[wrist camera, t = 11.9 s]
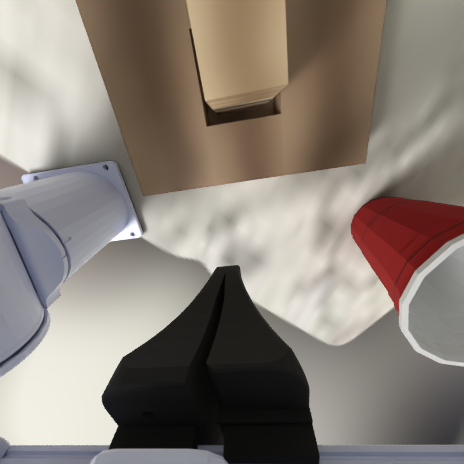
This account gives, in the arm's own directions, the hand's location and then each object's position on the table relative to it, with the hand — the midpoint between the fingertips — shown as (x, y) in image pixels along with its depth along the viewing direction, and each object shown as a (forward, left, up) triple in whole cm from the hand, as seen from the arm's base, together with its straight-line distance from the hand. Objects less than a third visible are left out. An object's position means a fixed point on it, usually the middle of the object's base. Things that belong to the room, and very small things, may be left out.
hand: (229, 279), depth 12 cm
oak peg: (+2, +11, -10) cm, 15 cm away
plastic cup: (+15, -3, -11) cm, 19 cm away
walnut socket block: (+2, +11, -10) cm, 15 cm away
